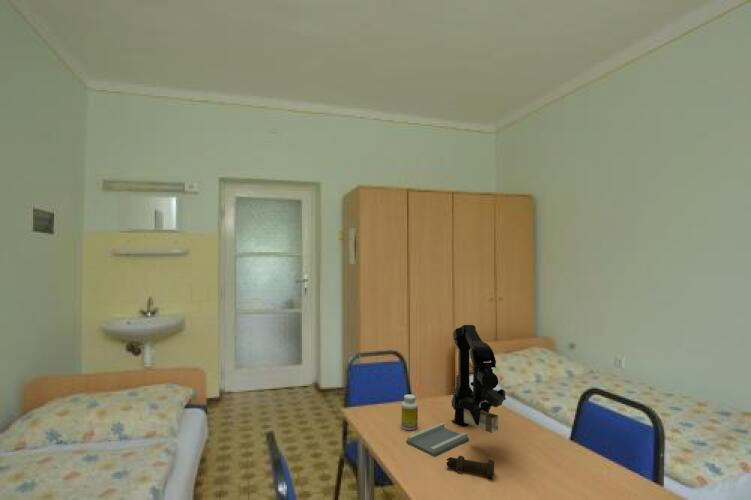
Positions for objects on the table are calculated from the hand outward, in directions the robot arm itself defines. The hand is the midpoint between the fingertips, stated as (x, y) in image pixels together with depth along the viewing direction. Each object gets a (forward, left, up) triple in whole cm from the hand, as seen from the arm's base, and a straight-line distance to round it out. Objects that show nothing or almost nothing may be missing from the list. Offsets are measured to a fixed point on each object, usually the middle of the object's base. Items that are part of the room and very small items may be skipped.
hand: (480, 423), depth 155 cm
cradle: (+6, -15, -10) cm, 19 cm away
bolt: (+15, +6, -11) cm, 19 cm away
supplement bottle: (+5, -31, -10) cm, 33 cm away
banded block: (0, 0, -1) cm, 1 cm away
